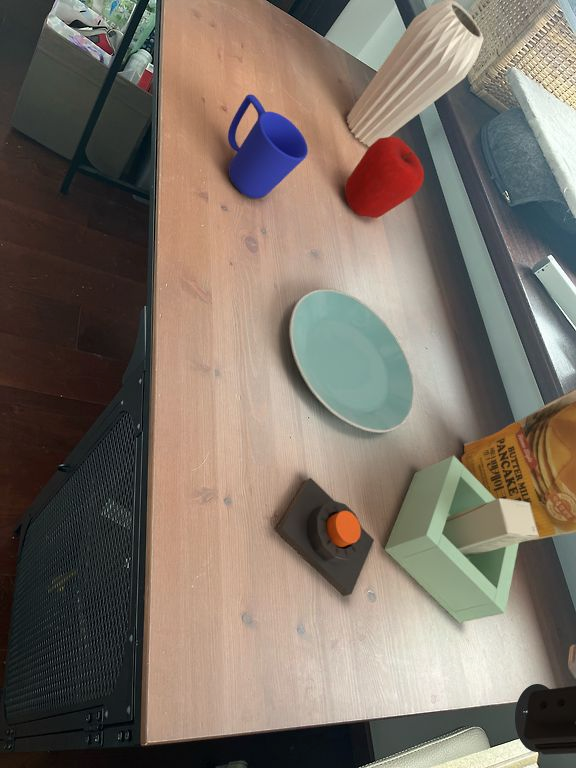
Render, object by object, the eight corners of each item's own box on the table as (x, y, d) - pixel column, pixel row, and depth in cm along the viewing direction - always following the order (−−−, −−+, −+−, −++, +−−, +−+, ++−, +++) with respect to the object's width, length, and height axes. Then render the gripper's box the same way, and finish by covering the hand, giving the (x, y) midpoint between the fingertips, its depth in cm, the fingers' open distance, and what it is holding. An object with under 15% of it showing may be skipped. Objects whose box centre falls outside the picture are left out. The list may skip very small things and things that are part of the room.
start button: (354, 529, 70) (364, 525, 69) (343, 553, 68) (354, 549, 67) (333, 508, 70) (343, 503, 69) (321, 532, 67) (331, 527, 66)
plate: (249, 343, 77) (262, 332, 75) (325, 275, 93) (337, 265, 91) (364, 473, 79) (380, 465, 77) (419, 385, 95) (433, 376, 93)
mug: (236, 138, 95) (273, 89, 88) (277, 202, 94) (317, 157, 87) (197, 140, 89) (233, 87, 82) (241, 208, 88) (281, 160, 81)
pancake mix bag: (478, 440, 98) (652, 359, 79) (512, 561, 90) (717, 503, 71) (451, 434, 95) (627, 347, 75) (483, 560, 86) (691, 499, 67)
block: (367, 542, 74) (384, 535, 72) (344, 596, 69) (362, 591, 67) (304, 480, 73) (320, 472, 71) (275, 530, 67) (291, 523, 65)
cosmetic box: (453, 528, 84) (530, 501, 75) (461, 561, 82) (541, 537, 73) (421, 524, 80) (498, 495, 72) (428, 559, 78) (509, 534, 70)
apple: (387, 222, 112) (444, 173, 103) (360, 234, 104) (418, 181, 95) (354, 175, 112) (408, 121, 103) (324, 183, 105) (379, 126, 95)
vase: (339, 139, 115) (447, 21, 97) (332, 93, 122) (431, -26, 103) (391, 169, 122) (500, 64, 104) (381, 124, 129) (482, 18, 111)
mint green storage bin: (480, 539, 88) (522, 526, 83) (459, 623, 78) (505, 613, 73) (414, 472, 85) (453, 455, 81) (384, 549, 75) (426, 534, 71)
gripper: (812, 658, 23) (442, 703, 36) (1025, 891, 25) (605, 857, 38) (780, 515, 28) (468, 598, 41) (957, 717, 31) (610, 737, 43)
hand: (535, 722), depth 39 cm, fingers closed
